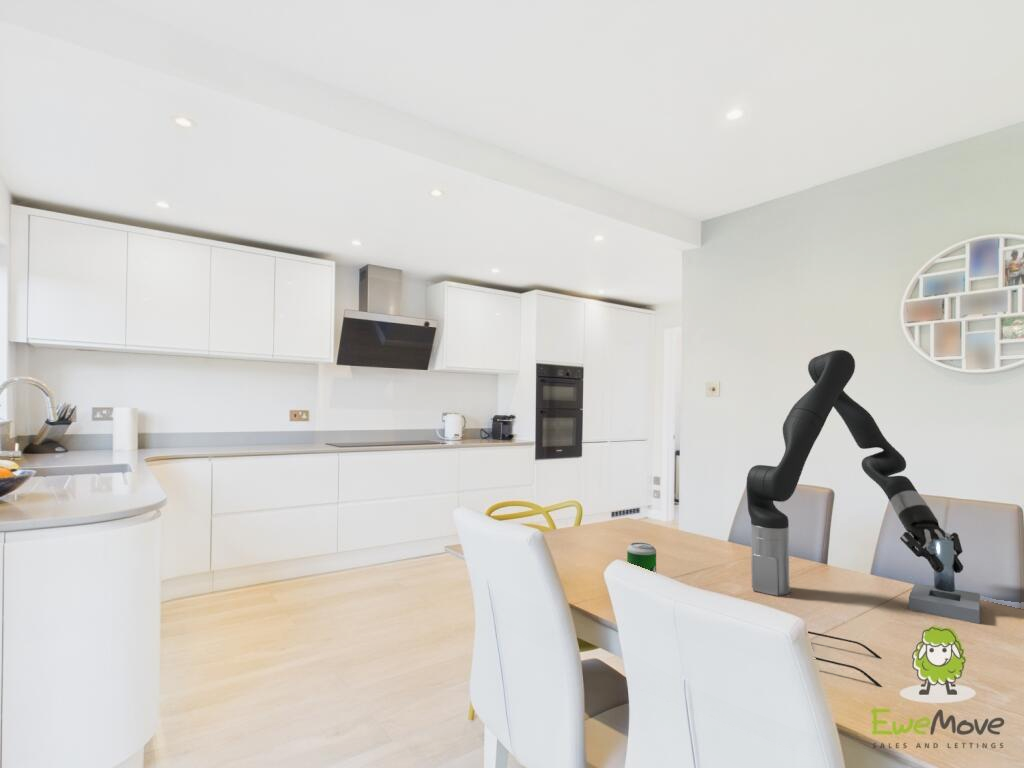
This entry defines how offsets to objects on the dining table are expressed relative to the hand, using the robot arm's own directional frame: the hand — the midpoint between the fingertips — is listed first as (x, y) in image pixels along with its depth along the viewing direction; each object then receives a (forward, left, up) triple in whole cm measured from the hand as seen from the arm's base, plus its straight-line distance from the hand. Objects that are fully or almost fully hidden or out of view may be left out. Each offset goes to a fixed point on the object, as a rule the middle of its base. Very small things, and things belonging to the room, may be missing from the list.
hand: (950, 570), depth 132 cm
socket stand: (+1, +1, -10) cm, 10 cm away
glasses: (-51, +16, -10) cm, 55 cm away
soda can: (-40, +62, -10) cm, 74 cm away
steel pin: (+1, +1, -5) cm, 5 cm away
